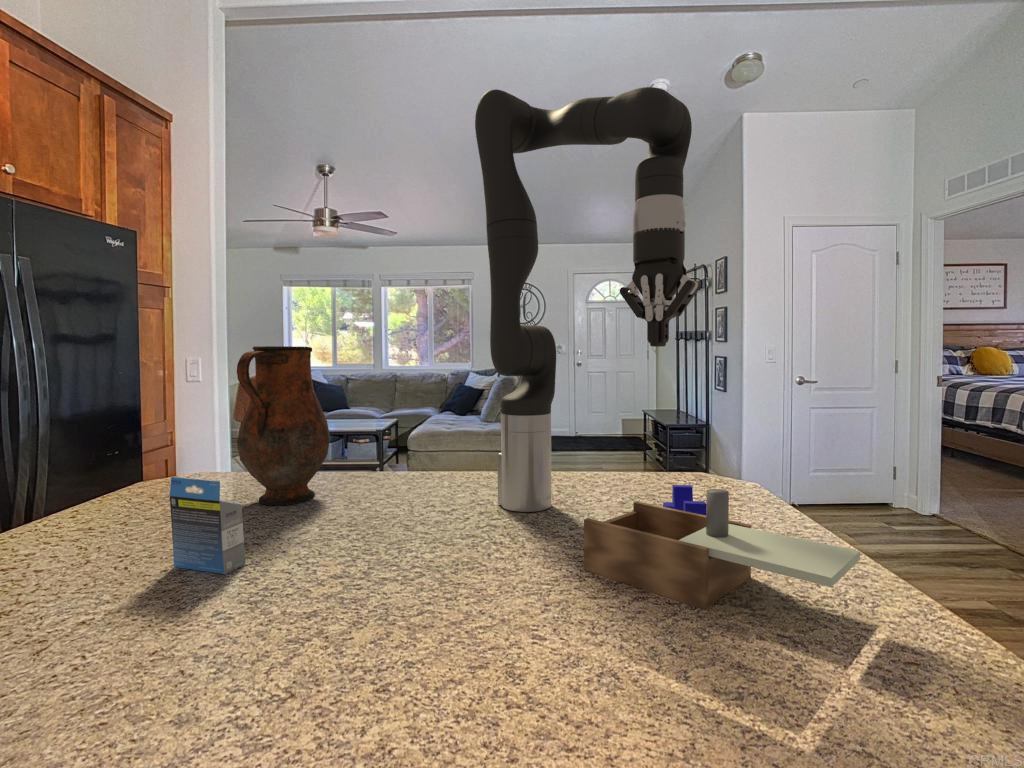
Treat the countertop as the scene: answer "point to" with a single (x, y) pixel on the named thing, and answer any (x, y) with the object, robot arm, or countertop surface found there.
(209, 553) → the label tape box
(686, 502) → the blue curved stepped block
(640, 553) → the walnut box
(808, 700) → the countertop surface
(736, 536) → the cover plate
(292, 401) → the pitcher
